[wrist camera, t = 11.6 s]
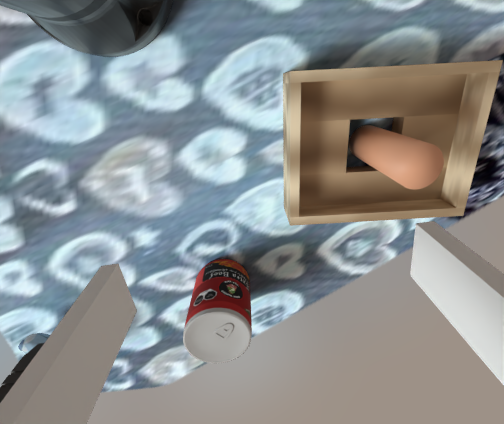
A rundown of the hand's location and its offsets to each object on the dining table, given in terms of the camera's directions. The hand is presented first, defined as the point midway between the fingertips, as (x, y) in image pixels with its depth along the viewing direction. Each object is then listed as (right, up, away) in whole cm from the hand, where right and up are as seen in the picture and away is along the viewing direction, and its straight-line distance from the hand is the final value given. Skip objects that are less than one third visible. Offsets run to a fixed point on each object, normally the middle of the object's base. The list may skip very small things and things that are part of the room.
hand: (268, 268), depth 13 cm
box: (+13, +11, +23) cm, 28 cm away
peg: (+13, +11, +23) cm, 28 cm away
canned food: (-5, -7, +30) cm, 31 cm away
